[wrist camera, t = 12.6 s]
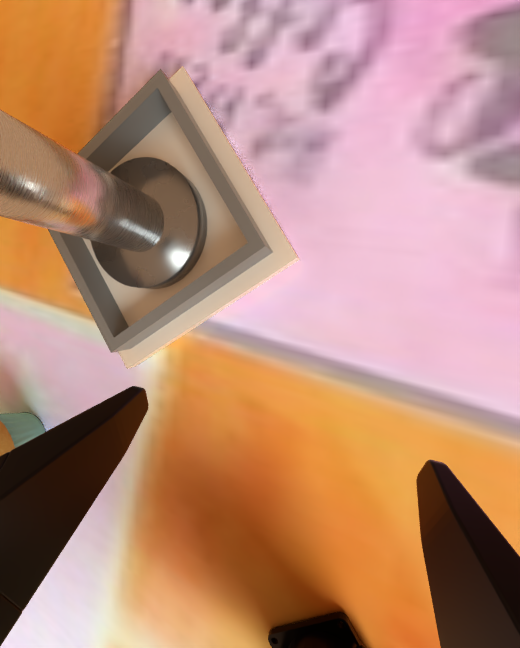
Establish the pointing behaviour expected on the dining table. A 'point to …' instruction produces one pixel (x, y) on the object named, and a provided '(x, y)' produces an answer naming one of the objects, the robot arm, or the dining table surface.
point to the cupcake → (18, 430)
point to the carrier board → (222, 222)
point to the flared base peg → (105, 206)
